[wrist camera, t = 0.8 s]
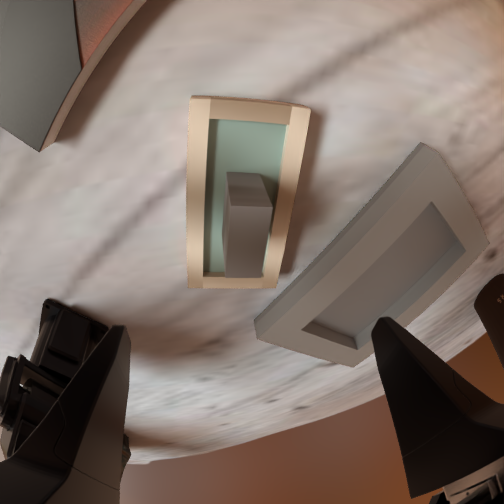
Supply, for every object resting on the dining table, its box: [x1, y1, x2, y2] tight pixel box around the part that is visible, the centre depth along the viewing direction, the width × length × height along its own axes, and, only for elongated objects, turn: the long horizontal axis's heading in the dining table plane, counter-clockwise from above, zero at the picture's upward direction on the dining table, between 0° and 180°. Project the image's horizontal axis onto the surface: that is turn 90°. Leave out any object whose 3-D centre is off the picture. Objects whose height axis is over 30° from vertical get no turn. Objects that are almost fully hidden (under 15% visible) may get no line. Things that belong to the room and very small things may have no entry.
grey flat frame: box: [254, 142, 490, 367], centre depth 22 cm, size 19×13×2 cm
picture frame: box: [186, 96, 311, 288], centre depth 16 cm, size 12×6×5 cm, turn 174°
